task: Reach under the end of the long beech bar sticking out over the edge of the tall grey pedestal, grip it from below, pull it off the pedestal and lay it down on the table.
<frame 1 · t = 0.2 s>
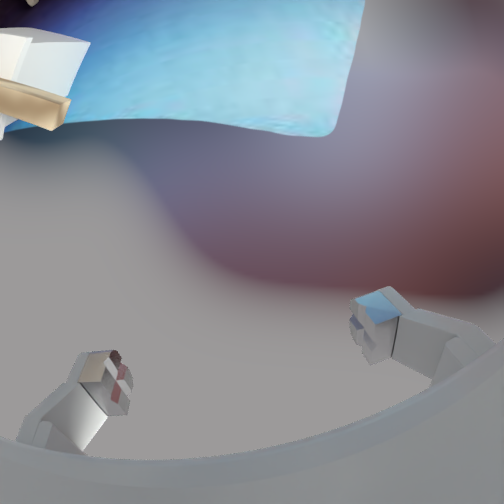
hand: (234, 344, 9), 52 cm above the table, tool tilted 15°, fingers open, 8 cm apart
pedestal: (46, 59, 33), on the table
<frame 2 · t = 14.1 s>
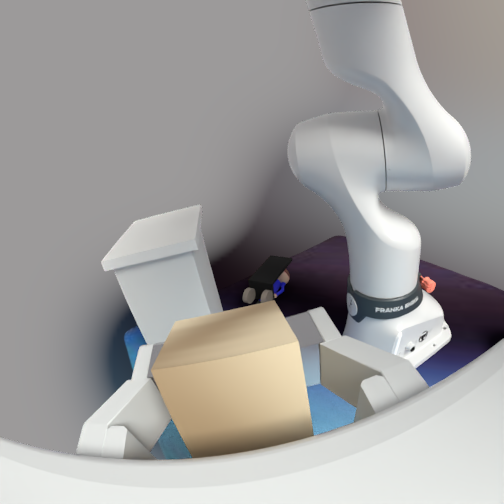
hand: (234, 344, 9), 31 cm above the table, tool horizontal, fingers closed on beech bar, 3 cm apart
pedestal: (198, 346, 55), on the table
figurine character: (272, 296, 68), on the table
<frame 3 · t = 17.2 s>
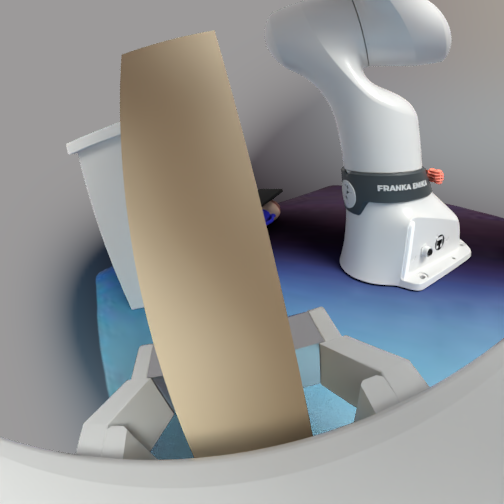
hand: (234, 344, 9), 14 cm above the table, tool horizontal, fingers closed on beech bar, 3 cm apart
pedestal: (173, 274, 48), on the table
beech bar: (264, 483, 5), point 13 cm above the table, tilted 118°, touching gripper
figurine character: (261, 230, 61), on the table
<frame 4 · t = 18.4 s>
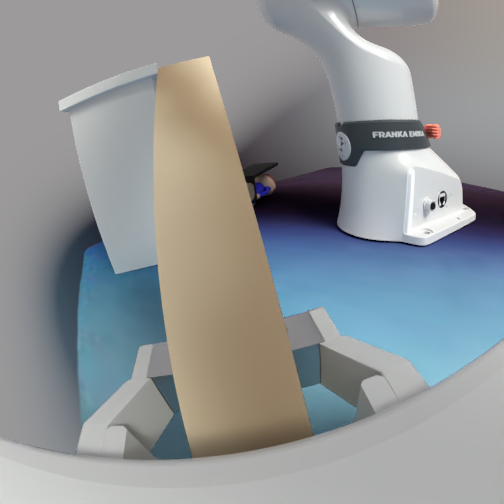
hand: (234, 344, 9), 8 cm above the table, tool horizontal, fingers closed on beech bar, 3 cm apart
pedestal: (162, 242, 45), on the table
beech bar: (212, 275, 7), point 11 cm above the table, tilted 139°, touching gripper
figurine character: (255, 203, 58), on the table
when the fingers open (7 cm above the table, at t = 19.1 s): beech bar drops 7 cm and tips over, point 3 cm above the table.
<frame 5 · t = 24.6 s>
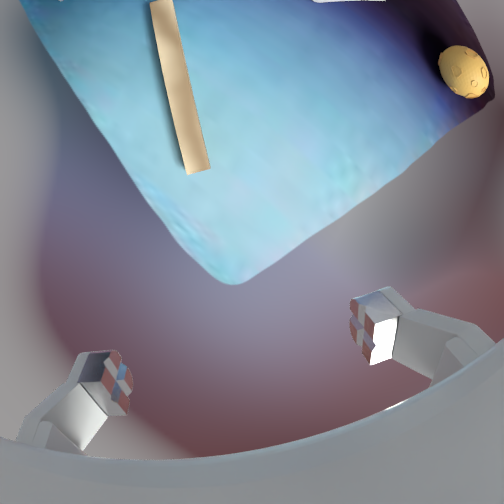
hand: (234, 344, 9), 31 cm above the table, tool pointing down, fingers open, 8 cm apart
beech bar: (175, 76, 28), point 3 cm above the table, tilted 180°
stress ball: (445, 73, 33), on the table
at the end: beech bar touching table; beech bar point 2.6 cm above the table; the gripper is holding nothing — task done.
